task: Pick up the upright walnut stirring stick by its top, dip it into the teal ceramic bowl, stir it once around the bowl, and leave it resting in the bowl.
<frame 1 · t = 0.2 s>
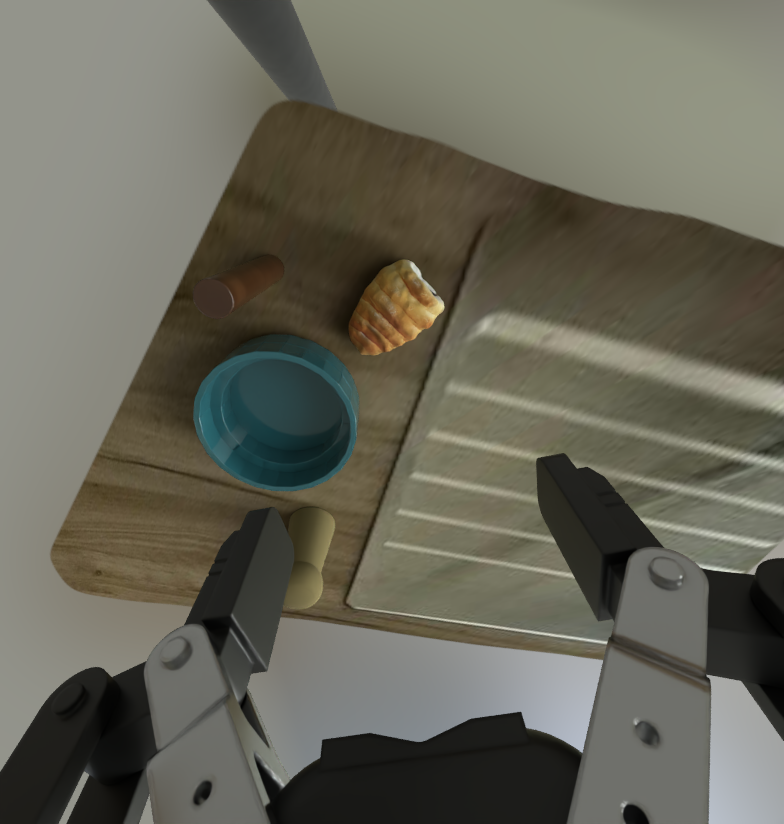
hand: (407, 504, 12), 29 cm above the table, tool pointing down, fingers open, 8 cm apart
cork: (312, 523, 50), on the table
pastry: (396, 307, 38), on the table
bowl: (289, 400, 42), on the table
stirring stick: (271, 268, 36), on the table
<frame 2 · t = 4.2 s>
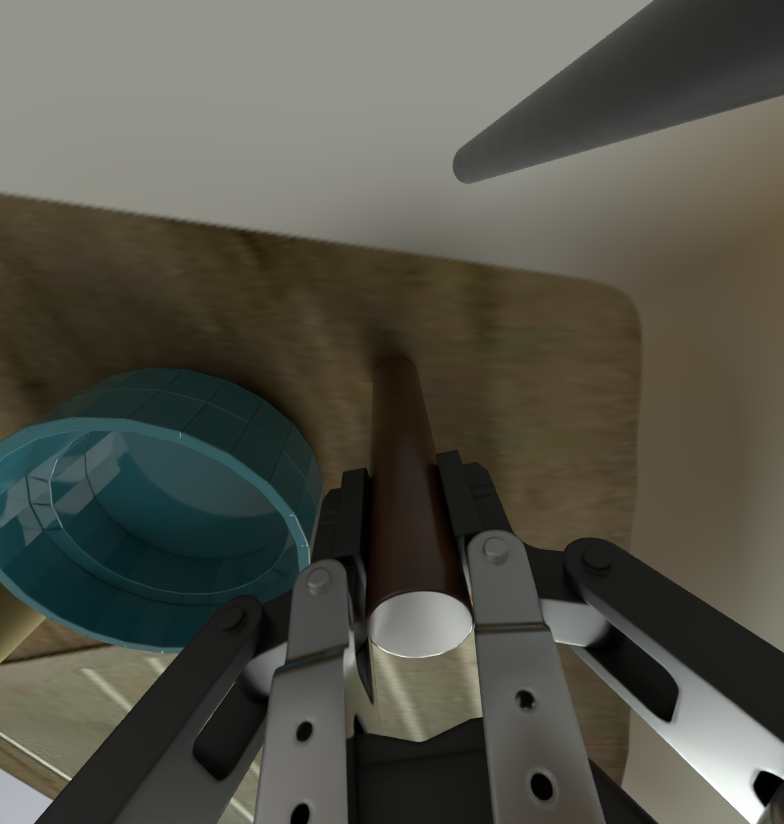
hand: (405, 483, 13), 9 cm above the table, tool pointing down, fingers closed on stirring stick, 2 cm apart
cork: (15, 587, 28), on the table
bowl: (200, 479, 23), on the table
stirring stick: (395, 377, 21), on the table, touching gripper
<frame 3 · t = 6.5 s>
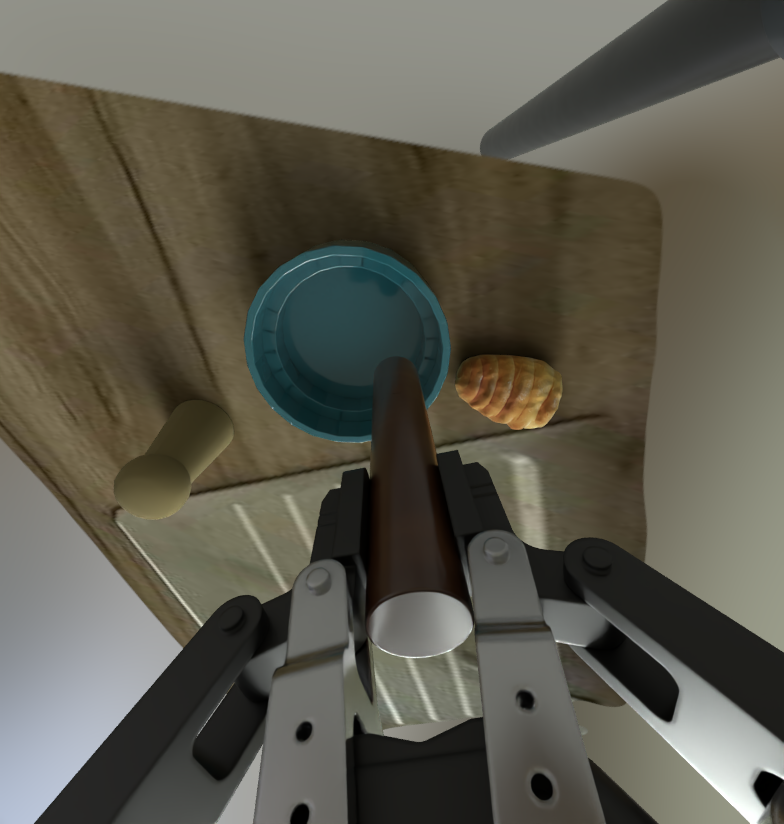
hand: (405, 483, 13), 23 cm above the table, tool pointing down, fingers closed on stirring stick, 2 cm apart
cork: (203, 425, 38), on the table
pastry: (506, 385, 37), on the table
bowl: (353, 333, 34), on the table
stirring stick: (395, 377, 21), point 14 cm above the table, touching gripper
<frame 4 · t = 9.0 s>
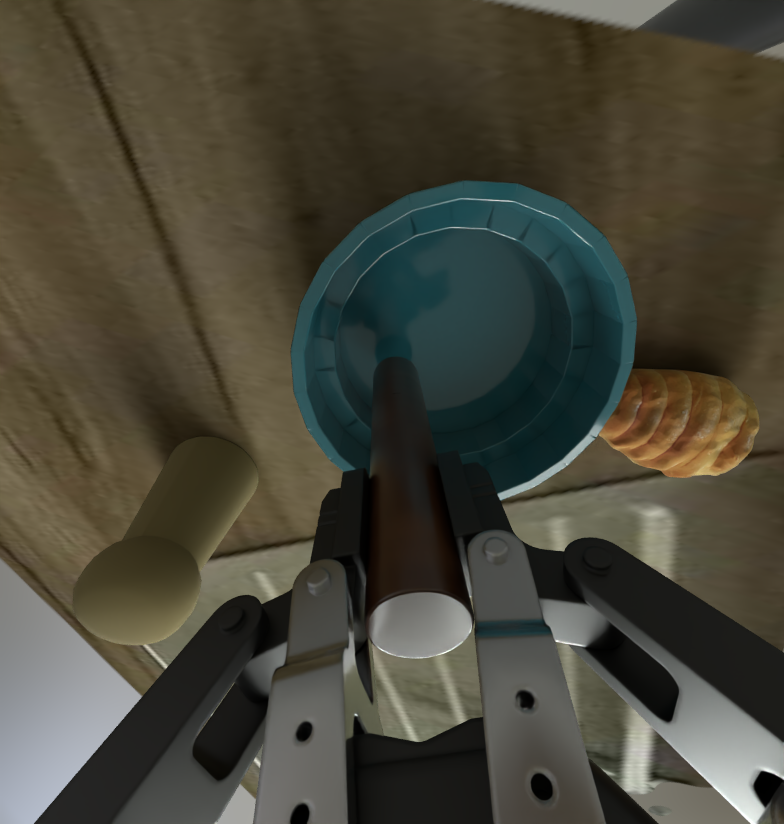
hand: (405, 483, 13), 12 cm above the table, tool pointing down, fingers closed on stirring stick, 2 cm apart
cork: (215, 471, 27), on the table
pastry: (653, 412, 26), on the table
bowl: (443, 338, 23), on the table
stirring stick: (395, 377, 21), point 3 cm above the table, touching gripper
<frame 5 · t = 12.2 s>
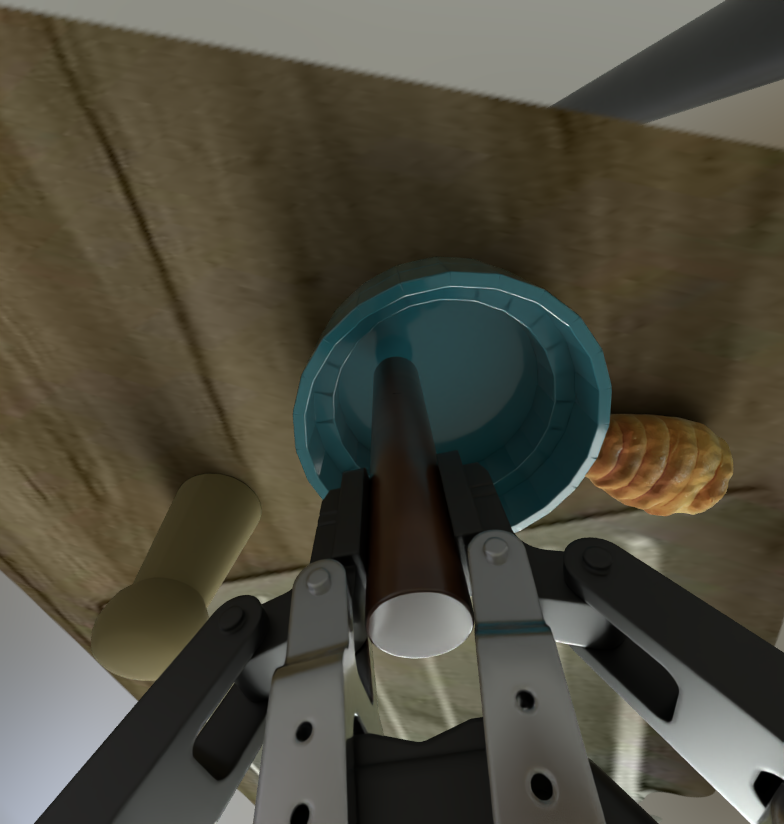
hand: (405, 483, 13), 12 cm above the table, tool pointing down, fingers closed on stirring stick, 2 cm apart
cork: (220, 504, 28), on the table
pastry: (636, 451, 27), on the table
bowl: (436, 386, 24), on the table
stirring stick: (395, 377, 21), point 3 cm above the table, touching gripper
when the fingers open (10 cm above the table, at t = 14.3 s): stirring stick stays where it is, resting on bowl.
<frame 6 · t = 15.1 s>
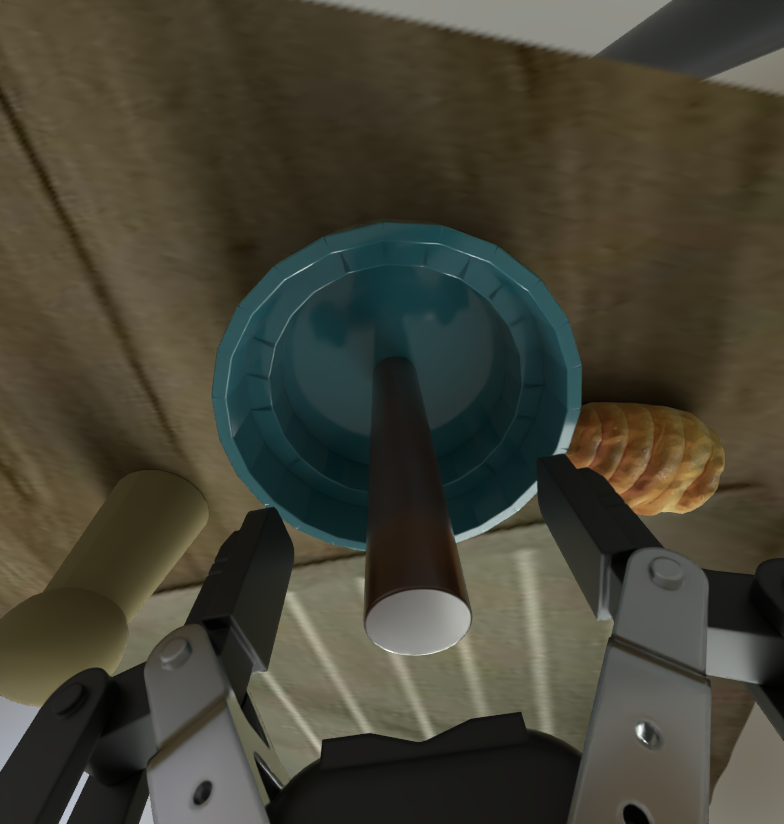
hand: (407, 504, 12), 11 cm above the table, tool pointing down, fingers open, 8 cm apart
cork: (163, 504, 26), on the table
pastry: (619, 445, 24), on the table
bowl: (394, 371, 21), on the table
stirring stick: (394, 377, 21), point 1 cm above the table, touching bowl
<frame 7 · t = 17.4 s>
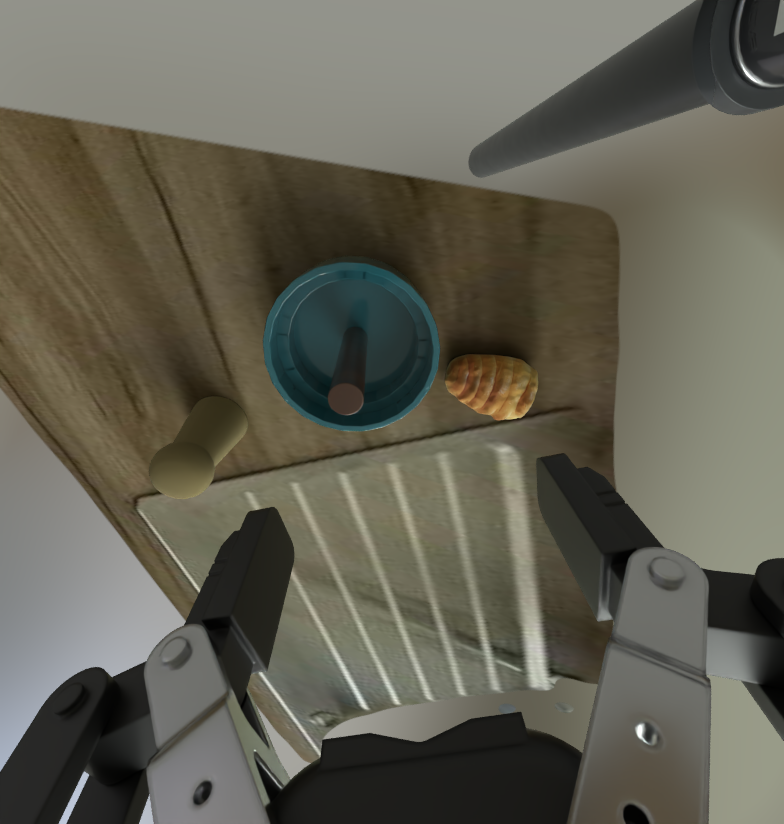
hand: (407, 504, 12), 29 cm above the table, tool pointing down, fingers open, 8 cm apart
cork: (220, 419, 43), on the table
pastry: (489, 381, 42), on the table
bowl: (355, 336, 39), on the table
stirring stick: (355, 338, 38), point 1 cm above the table, touching bowl
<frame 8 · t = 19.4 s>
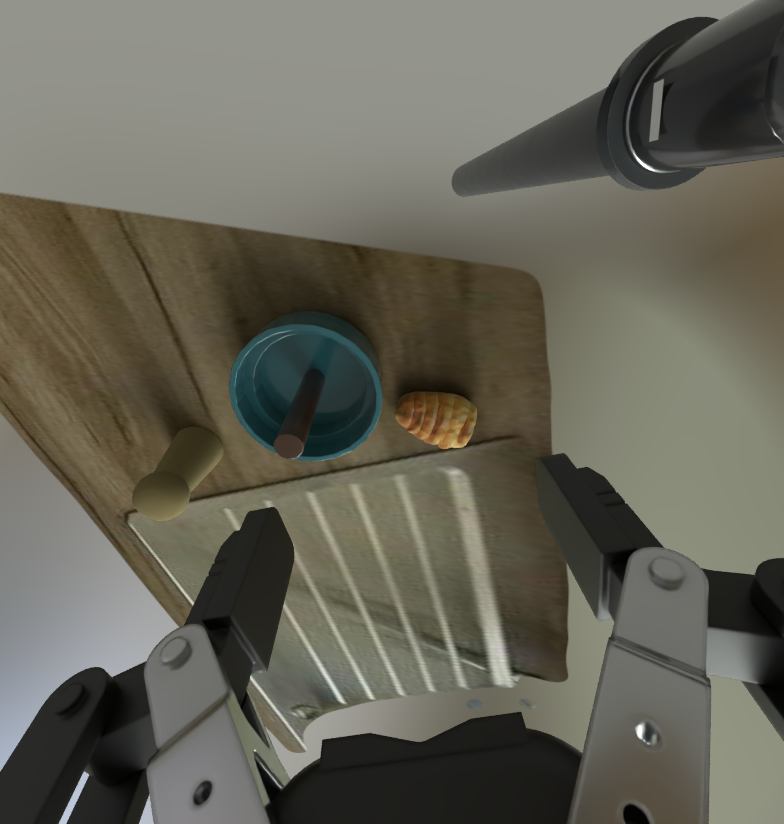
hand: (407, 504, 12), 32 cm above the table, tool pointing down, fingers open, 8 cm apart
cork: (199, 446, 48), on the table
pastry: (437, 414, 47), on the table
bowl: (315, 376, 44), on the table
stirring stick: (314, 379, 43), point 1 cm above the table, touching bowl
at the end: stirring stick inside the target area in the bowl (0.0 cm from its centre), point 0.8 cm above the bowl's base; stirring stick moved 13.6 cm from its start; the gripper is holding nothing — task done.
